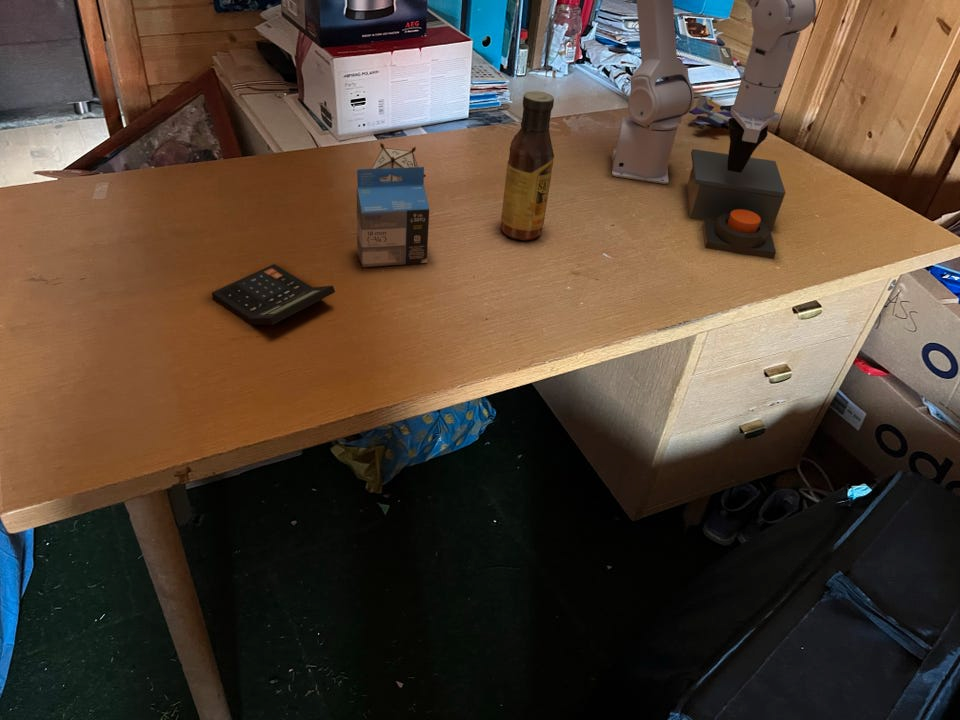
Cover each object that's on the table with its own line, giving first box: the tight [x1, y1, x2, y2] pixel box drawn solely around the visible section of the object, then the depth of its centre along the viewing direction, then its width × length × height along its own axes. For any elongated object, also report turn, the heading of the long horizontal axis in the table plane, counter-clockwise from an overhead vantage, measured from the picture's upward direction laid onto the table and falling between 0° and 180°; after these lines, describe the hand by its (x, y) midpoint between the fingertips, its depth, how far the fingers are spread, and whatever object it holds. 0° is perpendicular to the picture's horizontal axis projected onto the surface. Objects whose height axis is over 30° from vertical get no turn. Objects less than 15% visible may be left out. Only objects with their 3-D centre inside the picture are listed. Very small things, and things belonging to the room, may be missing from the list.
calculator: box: [211, 263, 336, 326], centre depth 91 cm, size 9×12×3 cm
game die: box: [370, 142, 427, 181], centre depth 113 cm, size 9×8×10 cm
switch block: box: [701, 213, 777, 260], centre depth 112 cm, size 10×7×3 cm
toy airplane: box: [688, 95, 734, 130], centre depth 146 cm, size 13×14×4 cm
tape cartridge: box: [356, 166, 430, 268], centre depth 98 cm, size 9×4×12 cm, turn 105°
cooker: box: [686, 165, 785, 232], centre depth 120 cm, size 13×12×6 cm
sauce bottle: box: [500, 90, 555, 241], centre depth 104 cm, size 6×6×20 cm
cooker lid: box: [690, 148, 787, 198], centre depth 118 cm, size 13×12×1 cm
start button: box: [727, 209, 761, 234], centre depth 111 cm, size 4×4×2 cm
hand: (734, 169), depth 115 cm, fingers closed
